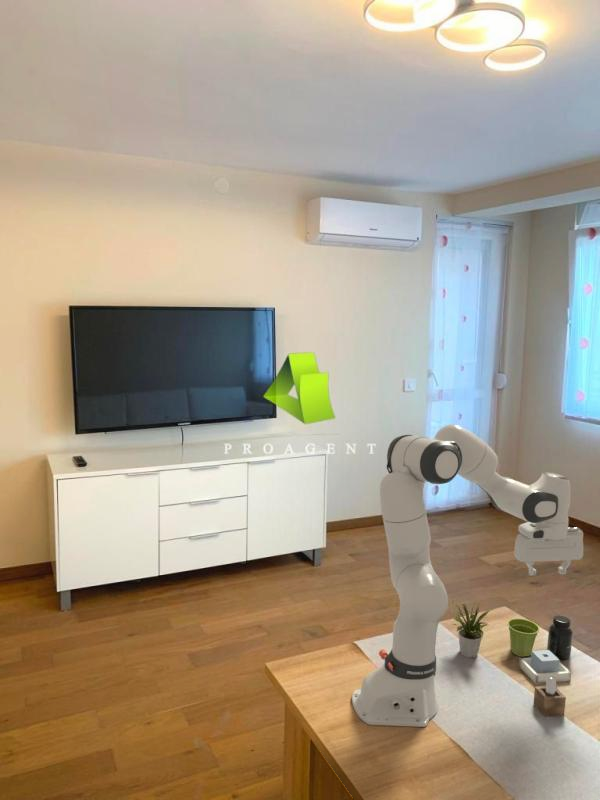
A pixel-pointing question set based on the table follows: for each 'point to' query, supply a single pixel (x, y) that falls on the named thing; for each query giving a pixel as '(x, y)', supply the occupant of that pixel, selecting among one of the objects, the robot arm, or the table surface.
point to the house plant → (470, 631)
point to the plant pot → (522, 636)
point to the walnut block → (549, 702)
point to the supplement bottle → (560, 638)
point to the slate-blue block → (544, 662)
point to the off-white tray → (541, 677)
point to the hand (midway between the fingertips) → (547, 574)
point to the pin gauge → (550, 686)
